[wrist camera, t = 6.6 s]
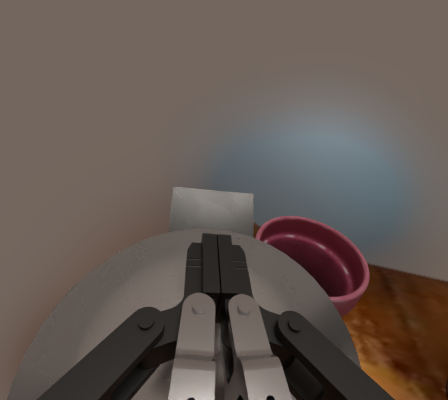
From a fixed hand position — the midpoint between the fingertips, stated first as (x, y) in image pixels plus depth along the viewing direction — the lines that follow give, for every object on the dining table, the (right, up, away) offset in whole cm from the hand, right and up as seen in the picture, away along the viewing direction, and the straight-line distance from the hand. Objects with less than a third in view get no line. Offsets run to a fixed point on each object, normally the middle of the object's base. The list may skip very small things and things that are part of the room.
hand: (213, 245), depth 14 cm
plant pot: (+9, -14, +25) cm, 30 cm away
